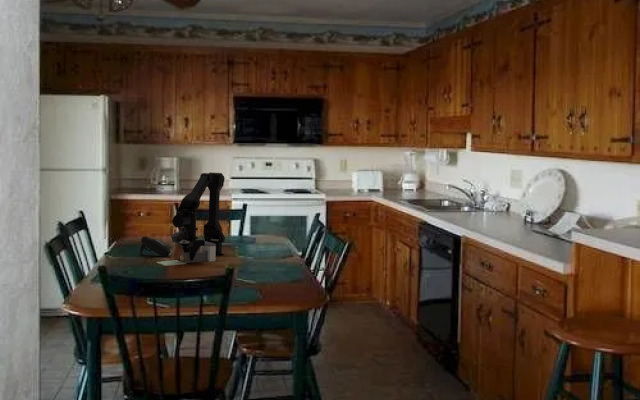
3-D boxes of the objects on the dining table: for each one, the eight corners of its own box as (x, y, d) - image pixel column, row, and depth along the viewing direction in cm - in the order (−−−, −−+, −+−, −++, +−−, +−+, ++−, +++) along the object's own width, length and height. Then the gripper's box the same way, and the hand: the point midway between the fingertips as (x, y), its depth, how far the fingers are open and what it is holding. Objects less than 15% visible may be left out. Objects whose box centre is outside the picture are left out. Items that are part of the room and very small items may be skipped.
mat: (176, 260, 321) (176, 260, 321) (186, 264, 314) (186, 263, 314) (156, 262, 315) (156, 261, 315) (165, 266, 308) (165, 265, 308)
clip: (205, 258, 331) (206, 241, 330) (215, 261, 324) (215, 243, 323) (200, 258, 329) (200, 241, 328) (209, 261, 322) (209, 244, 321)
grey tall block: (208, 258, 329) (208, 250, 328) (212, 260, 326) (212, 251, 325) (179, 261, 319) (179, 253, 319) (183, 263, 316) (183, 254, 316)
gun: (162, 269, 330) (172, 251, 328) (134, 251, 332) (143, 233, 330) (165, 268, 332) (174, 250, 331) (137, 250, 335) (146, 232, 333)
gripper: (164, 224, 321) (163, 257, 322) (183, 228, 306) (182, 264, 308) (186, 222, 328) (185, 255, 329) (205, 227, 313) (205, 262, 315)
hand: (189, 259), depth 320 cm, fingers closed on grey tall block, 4 cm apart
